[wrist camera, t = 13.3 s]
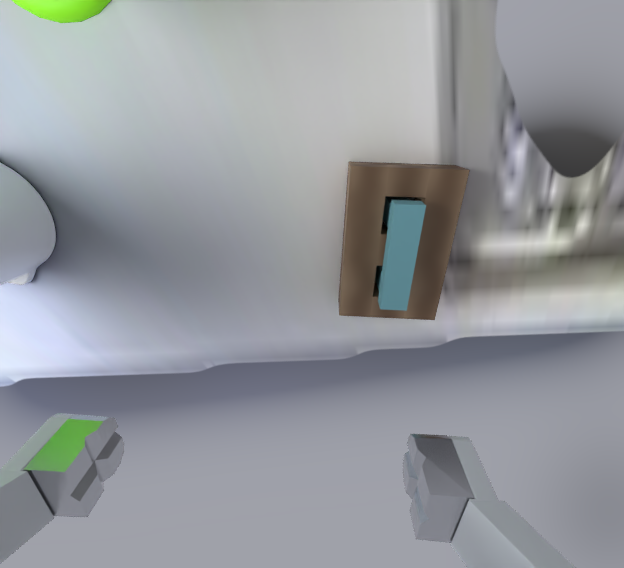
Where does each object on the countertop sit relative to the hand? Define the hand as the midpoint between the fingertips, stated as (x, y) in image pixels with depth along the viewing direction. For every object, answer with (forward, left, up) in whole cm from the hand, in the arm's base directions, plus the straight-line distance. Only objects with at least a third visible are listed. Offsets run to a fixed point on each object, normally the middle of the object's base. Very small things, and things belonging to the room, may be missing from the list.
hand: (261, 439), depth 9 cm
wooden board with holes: (+10, -5, -33) cm, 35 cm away
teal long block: (+10, -5, -33) cm, 35 cm away
